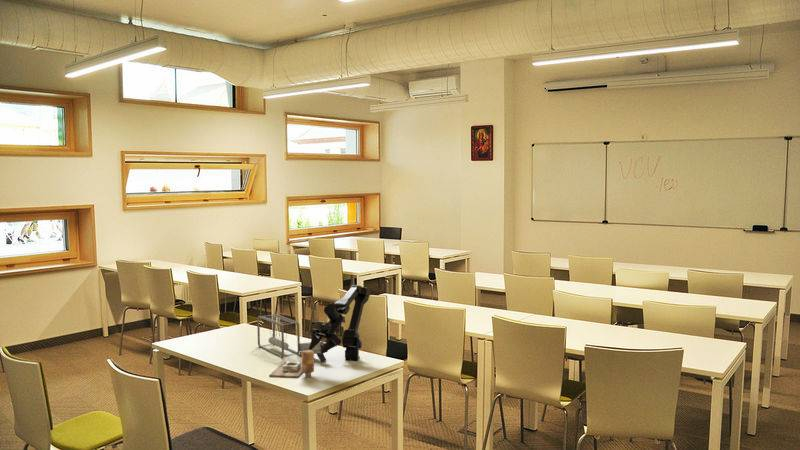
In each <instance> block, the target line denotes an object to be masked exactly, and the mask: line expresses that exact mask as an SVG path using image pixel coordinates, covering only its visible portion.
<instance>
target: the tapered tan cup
mask: <svg viewBox="0 0 800 450" xmlns="http://www.w3.org/2000/svg"><path fill="white" fill-rule="evenodd" d="M301 362H302V372H303V373H302V374H304V378H311V377H312V373H314V372H315V354H314V351H313V350H304V351H302V355H301Z"/></svg>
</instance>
